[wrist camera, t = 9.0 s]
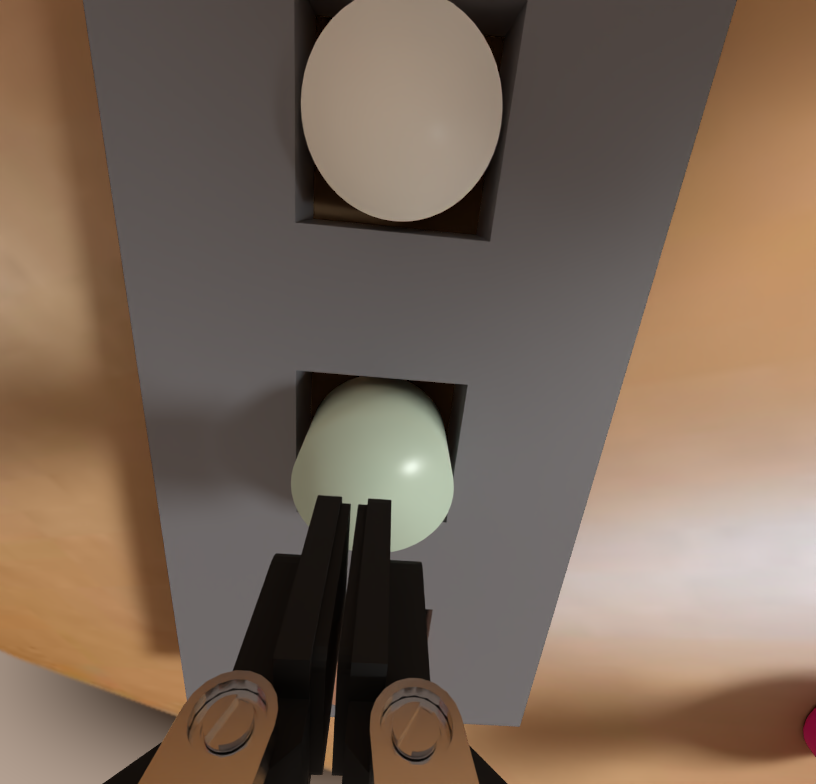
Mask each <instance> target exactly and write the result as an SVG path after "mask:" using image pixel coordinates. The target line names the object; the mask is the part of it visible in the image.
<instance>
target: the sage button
mask: <svg viewBox="0 0 816 784" xmlns="http://www.w3.org/2000/svg"><path fill="white" fill-rule="evenodd" d="M291 491H292V496H293V501H294V503H295V506H296V508H297V511H298V512H299V514H300V516H301V517H302V519H303V520H304V521H305V523H306V524H307V525H308V526H309V525H310V521H311V518H312V514H313V510H314V507H315V503H316V499H317V496H318V495H325V496H340V497H342V503H348V504H351V513H350V531H349V550H351V551H352V547H353V539H354V532H355V524H356V517H357V509H358V504H363V505H367V504H368V498H371V499H386V500H391V547H390V552H394V551H398V550H402V549H405V548H408V547H410V546H412V545H415V544H417V543H418V542H420V541H422V540H424V539H425V538H426V537H428V536H429V535H430V534H432V533H433V532H434V531H435V530H436V529H437V528H438V527H439V525H440V524H441V523H442V521H443V520H444V518H445V517H446V515H447V513H448V511H449V509H450V506H451V503H452V499H453V492H454V482H453V474H452V469H451V463H450V457H449V451H448V445H447V440H446V434H445V428H444V424H443V419H442V417H441V414H440V412H439V410H438V408H437V406H436V404H435V403H434V402H433V401H432V399H431V398H430V397H429V396H428V395H427V394H426V393H425V392H424V391H423V390H421V389H420V388H419V387H417V386H415V385H414V384H412V383H410V382H408V381H406V380H403V379H393V378H381V377H369V376H361V377H357V378H354V379H351V380H348V381H346V382H344V383H342V384H340V385H339V386H337V387H336V388H335V389H333V390H332V391H331V392H330V393H329V394H328V395H327V396H326V397H325V398H324V399H323V401H322V402H321V404H320V405H319V407H318V409H317V411H316V413H315V416H314V418H313V421H312V423H311V425H310V428H309V430H308V433H307V435H306V437H305V440H304V442H303V445H302V447H301V449H300V452H299V454H298V457H297V459H296V461H295V464H294V467H293V471H292V475H291Z"/></svg>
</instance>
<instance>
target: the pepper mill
mask: <svg viewBox="0 0 816 784" xmlns="http://www.w3.org/2000/svg"><path fill="white" fill-rule="evenodd" d="M803 732H804V740H805V742H806V744H807V746H808V747H809V749H810V750H811V751H812V753H813V754H814V755H815V757H816V708H814V710H813V711H812V712H811V713H810V714H809V716H808V717H807V719H806V722H805V725H804V728H803Z"/></svg>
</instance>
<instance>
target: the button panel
mask: <svg viewBox="0 0 816 784" xmlns="http://www.w3.org/2000/svg"><path fill="white" fill-rule="evenodd" d="M353 1H354V0H83V4H84V11H85V18H86V24H87V31H88V38H89V45H90V51H91V58H92V65H93V71H94V78H95V85H96V92H97V98H98V105H99V112H100V118H101V125H102V132H103V139H104V145H105V152H106V159H107V166H108V172H109V179H110V186H111V192H112V199H113V206H114V213H115V219H116V226H117V233H118V240H119V246H120V253H121V260H122V266H123V273H124V280H125V287H126V293H127V300H128V307H129V314H130V320H131V327H132V334H133V340H134V347H135V354H136V361H137V367H138V374H139V381H140V388H141V394H142V401H143V408H144V414H145V421H146V428H147V435H148V441H149V448H150V455H151V461H152V468H153V475H154V482H155V488H156V495H157V502H158V509H159V515H160V522H161V529H162V535H163V542H164V549H165V556H166V562H167V569H168V576H169V583H170V589H171V596H172V603H173V609H174V616H175V623H176V630H177V636H178V643H179V650H180V657H181V663H182V670H183V677H184V683H185V690H186V697H187V700H188V699H189V698H190V696H191V695H192V694H193V692H195V691H196V690H197V689H198V688H199V687H201V686H202V685H203V684H204V683H205V682H206V681H208V680H210V679H212V678H214V677H216V676H218V675H220V674H223V673H227V672H231V671H233V668H234V665H235V663H236V660H237V657H238V654H239V651H240V648H241V646H242V643H243V640H244V637H245V634H246V631H247V629H248V626H249V623H250V620H251V617H252V614H253V612H254V609H255V606H256V603H257V600H258V598H259V595H260V592H261V589H262V586H263V583H264V581H265V578H266V575H267V572H268V569H269V566H270V564H271V561H272V559H273V556H274V555H275V554H276V553H280V554H298V555H301V554H302V550H303V547H304V543H305V539H306V536H307V532H308V528H309V526H308V525H307V524H306V523H305V521H304V520H303V519H302V517H301V516H300V514H299V512H298V511H297V508H296V506H295V503H294V501H293V496H292V491H291V475H292V471H293V467H294V464H295V461H296V459H297V457H298V454H299V452H300V449H301V447H302V445H303V442H304V440H305V437H306V435H307V433H308V430H309V428H310V425H311V395H312V372H321V373H333V374H345V375H357V376H369V377H381V378H393V379H405V380H417V381H428V382H440V383H452V384H455V385H454V392H453V399H452V406H451V413H450V420H449V427H448V434H447V445H448V451H449V457H450V463H451V469H452V474H453V482H454V492H453V499H452V503H451V506H450V509H449V511H448V513H447V515H446V517H445V518H444V520H443V521H442V523H441V524H440V525H439V527H438V528H437V529H436V530H435V531H434V532H433V533H432V534H430V535H429V536H428V537H426V538H425V539H424V540H422V541H420V542H418V543H417V544H415V545H412V546H410V547H408V548H405V549H402V550H398V551H394V552H390V560H401V561H418V562H422V566H423V579H424V594H425V609H426V624H427V639H428V654H429V669H430V682H433V683H435V684H437V685H438V686H439V687H441V688H442V689H444V690H445V691H446V692H447V693H448V694H449V695H450V697H451V698H452V699H453V700H454V702H455V703H456V705H457V707H458V710H459V712H460V715H461V717H462V721H463V724H479V725H498V726H518V727H520V724H521V721H522V717H523V714H524V711H525V707H526V704H527V701H528V697H529V694H530V691H531V687H532V684H533V680H534V677H535V674H536V670H537V667H538V664H539V660H540V657H541V654H542V650H543V647H544V644H545V640H546V637H547V634H548V630H549V627H550V624H551V620H552V617H553V614H554V610H555V607H556V604H557V600H558V597H559V594H560V590H561V587H562V583H563V580H564V577H565V573H566V570H567V567H568V563H569V560H570V557H571V553H572V550H573V547H574V543H575V540H576V537H577V533H578V530H579V527H580V523H581V520H582V517H583V513H584V510H585V507H586V503H587V500H588V497H589V493H590V490H591V486H592V483H593V480H594V476H595V473H596V470H597V466H598V463H599V460H600V456H601V453H602V450H603V446H604V443H605V440H606V436H607V433H608V430H609V426H610V423H611V420H612V416H613V413H614V410H615V406H616V403H617V400H618V396H619V393H620V390H621V386H622V383H623V379H624V376H625V373H626V369H627V366H628V363H629V359H630V356H631V353H632V349H633V346H634V343H635V339H636V336H637V333H638V329H639V326H640V323H641V319H642V316H643V313H644V309H645V306H646V303H647V299H648V296H649V293H650V289H651V286H652V282H653V279H654V276H655V272H656V269H657V266H658V262H659V259H660V256H661V252H662V249H663V246H664V242H665V239H666V236H667V232H668V229H669V226H670V222H671V219H672V216H673V212H674V209H675V206H676V202H677V199H678V196H679V192H680V189H681V185H682V182H683V179H684V175H685V172H686V169H687V165H688V162H689V159H690V155H691V152H692V149H693V145H694V142H695V139H696V135H697V132H698V129H699V125H700V122H701V119H702V115H703V112H704V109H705V105H706V102H707V99H708V95H709V92H710V88H711V85H712V82H713V78H714V75H715V72H716V68H717V65H718V62H719V58H720V55H721V52H722V48H723V45H724V42H725V38H726V35H727V32H728V28H729V25H730V22H731V18H732V15H733V12H734V8H735V5H736V2H737V0H448V1H450V2H451V3H453V4H454V5H455V6H457V7H458V8H459V9H460V10H462V11H463V12H464V13H465V14H466V15H467V16H468V17H469V18H470V19H471V20H472V21H473V22H474V23H475V25H476V26H477V28H478V29H479V30H480V32H481V33H482V34H484V35H492V36H501V37H504V44H503V51H502V58H501V65H500V72H499V77H500V82H501V89H502V121H501V128H500V133H499V138H498V141H497V144H496V147H495V151H494V154H493V156H492V158H491V160H490V162H489V164H488V167H487V168H486V170H485V176H484V183H483V190H482V197H481V204H480V211H479V218H478V225H477V232H476V235H474V234H464V233H454V232H443V231H433V230H423V229H413V228H403V227H393V226H382V225H372V224H362V223H352V222H342V221H331V220H321V219H313V208H314V160H313V158H312V156H311V153H310V151H309V148H308V145H307V142H306V138H305V135H304V129H303V124H302V115H301V92H302V83H303V78H304V72H305V69H306V65H307V62H308V59H309V56H310V54H311V52H312V49H313V47H314V45H315V21H316V15H322V16H330V17H334V16H335V15H336V14H338V13H339V12H340V11H341V10H342V9H343V8H344V7H345V6H347V5H348V4H350V3H351V2H353ZM351 554H352V551H351V550H348V568H347V584H348V577H349V569H350V562H351ZM346 592H347V587H346ZM330 717H335V705H333V704H332V708H331V715H330Z"/></svg>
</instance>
